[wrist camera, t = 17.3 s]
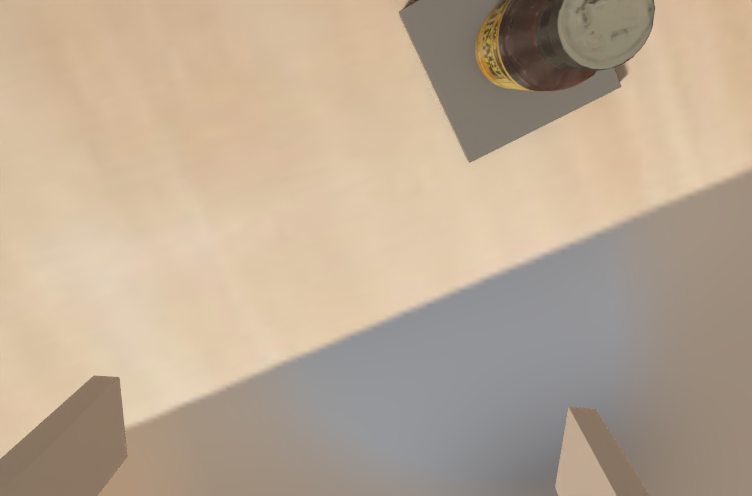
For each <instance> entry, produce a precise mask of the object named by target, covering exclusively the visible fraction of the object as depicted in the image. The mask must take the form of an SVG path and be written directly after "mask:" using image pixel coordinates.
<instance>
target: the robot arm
mask: <svg viewBox="0 0 752 496" xmlns="http://www.w3.org/2000/svg"><path fill="white" fill-rule="evenodd" d="M126 458H127V447H126V437H125V428H124V418H123V408H122V398H121V389H120V379H119V377H107V376H93V377H92V378H91V379H90V380H88V381H87V382H86V383H85V384H84V385H83V386H82V387H81V388H79V389H78V390H77V391H76V392H75V393H74V394H73V395H72V396H71V397H69V398H68V399H67V400H66V401H65V402H64V403H63V404H62V405H60V406H59V407H58V408H57V409H56V410H55V411H54V412H53V413H51V414H50V415H49V416H48V417H47V418H46V419H45V420H44V421H43V422H41V423H40V424H39V425H38V426H37V427H36V428H35V429H34V430H32V431H31V432H30V433H29V434H28V435H27V436H26V437H25V438H23V439H22V440H21V441H20V442H19V443H18V444H17V445H16V446H14V447H13V448H12V449H11V450H10V451H9V452H8V453H7V454H6V455H4V456H3V457H2V458H1V459H0V496H97V495H98V494H99V492H100V491H101V490H102V489H103V488H104V486H105V485H106V484H107V483H108V481H109V480H110V479H111V477H112V476H113V475H114V473H115V472H116V471H117V470H118V468H119V467H120V466H121V464H122V463H123V462H124V460H125V459H126ZM555 488H556V490H557V493H558V496H650V495H649V493H648V492H647V490H646V488H645V487H644V485H643V484H642V482H641V481H640V479H639V477H638V476H637V474H636V473H635V471H634V469H633V468H632V466H631V464H630V463H629V461H628V460H627V458H626V457H625V455H624V453H623V452H622V450H621V448H620V447H619V445H618V444H617V442H616V440H615V439H614V437H613V436H612V434H611V433H610V431H609V429H608V428H607V426H606V424H605V423H604V421H603V420H602V418H601V417H600V415H599V414H598V412H597V410H596V409H588V408H573V407H569V409H568V415H567V421H566V427H565V432H564V439H563V444H562V451H561V456H560V462H559V468H558V474H557V480H556V486H555Z"/></svg>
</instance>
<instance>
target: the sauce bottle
mask: <svg viewBox="0 0 752 496" xmlns="http://www.w3.org/2000/svg"><path fill="white" fill-rule="evenodd" d="M654 11H655V5H654V0H505V1H504V2H503V3H501V4H500V5H499V6H498V7H496V8H495V9H493V10H492V11H491V12H490V13H489V15H488V16H487V17H486V18H485V20H484V21H483V23H482V24H481V26H480V29H479V31H478V34H477V38H476V44H475V54H476V60H477V63H478V65H479V68H480V70H481V72H482V73H483V74H484V75H485V76H486V78H487V79H488V80H489V81H491V82H492V83H494V84H495V85H497V86H500V87H503V88H507V89H516V90H527V91H540V92H544V91H556V90H564V89H568V88H571V87H574V86H576V85H578V84H580V83H582V82H583V81H585V80H587V79H589V78H590V77H592V76H594V75H595V73H596V72H597V71H601V70H606V69H610V68H614V67H616V66H619V65H621V64H623V63H625V62H626V61H628V60H630V59H631V58H633V57H634V55H635V54H636V53H637V52H638V51H639V50H640V49H641V48H642V46H643V45H644V44H645V42H646V40H647V38H648V37H649V35H650V32H651V29H652V26H653V19H654Z"/></svg>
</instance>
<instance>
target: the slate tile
mask: <svg viewBox="0 0 752 496" xmlns="http://www.w3.org/2000/svg"><path fill="white" fill-rule="evenodd" d="M504 1H505V0H419V1H417V2H415V3H413V4H412V5H410V6H408V7H406V8H405V9H403V10H401V11H399V15H400V18H401V20H402V22H403V24H404V26H405V28H406V30H407V32H408V35H409V37H410V39H411V41H412V43H413V45H414V47H415V49H416V52H417V54H418V56H419V58H420V60H421V62H422V64H423V66H424V69H425V71H426V73H427V75H428V77H429V79H430V81H431V84H432V86H433V88H434V90H435V92H436V94H437V96H438V98H439V101H440V103H441V105H442V107H443V109H444V111H445V113H446V115H447V118H448V120H449V122H450V124H451V126H452V128H453V130H454V132H455V135H456V137H457V139H458V141H459V143H460V145H461V147H462V150H463V152H464V154H465V156H466V158H467V160H468V162H469V163H470V162H472V161H474V160H476V159H478V158H480V157H482V156H484V155H486V154H488V153H490V152H492V151H494V150H496V149H498V148H500V147H502V146H504V145H506V144H508V143H510V142H512V141H514V140H516V139H518V138H520V137H522V136H524V135H526V134H528V133H530V132H532V131H534V130H536V129H538V128H540V127H542V126H544V125H546V124H548V123H550V122H552V121H554V120H556V119H558V118H560V117H562V116H564V115H566V114H568V113H570V112H572V111H574V110H576V109H578V108H580V107H582V106H584V105H586V104H588V103H590V102H592V101H594V100H596V99H598V98H600V97H602V96H604V95H606V94H608V93H610V92H612V91H614V90H616V89H618V88H620V87H621V84H620V82H619V79H618V76H617V74H616V71H615V68H610V69H606V70H601V71H597V72H596V73H595V75H594V76H592V77H590V78H589V79H587V80H585V81H583V82H582V83H580V84H578V85H576V86H574V87H571V88H568V89H564V90H556V91H544V92H540V91H527V90H516V89H507V88H503V87H500V86H497V85H495V84H494V83H492V82H491V81H489V80H488V79H487V78H486V76H485V75H484V74H483V73H482V72H481V70H480V68H479V65H478V63H477V60H476V54H475V44H476V38H477V34H478V31H479V29H480V26H481V24H482V23H483V21H484V20H485V18H486V17H487V16H488V15H489V13H490V12H491V11H492V10H493V9H495V8H496V7H498V6H499V5H500V4H501V3H503V2H504Z"/></svg>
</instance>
